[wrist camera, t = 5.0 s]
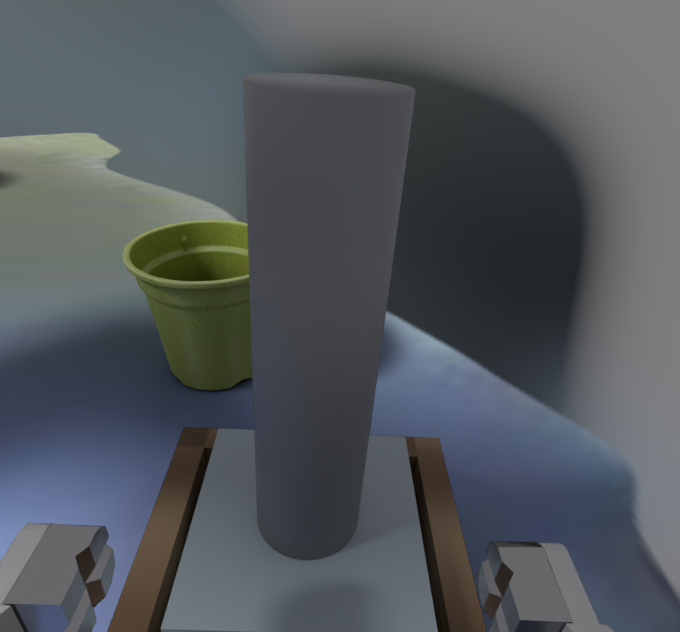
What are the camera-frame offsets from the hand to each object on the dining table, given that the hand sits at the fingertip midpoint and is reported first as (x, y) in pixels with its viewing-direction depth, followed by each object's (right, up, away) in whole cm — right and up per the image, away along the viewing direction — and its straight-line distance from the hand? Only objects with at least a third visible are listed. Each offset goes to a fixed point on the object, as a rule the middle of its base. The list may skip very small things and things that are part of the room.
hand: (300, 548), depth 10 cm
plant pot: (-8, +2, +23) cm, 24 cm away
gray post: (-1, -6, +10) cm, 12 cm away
